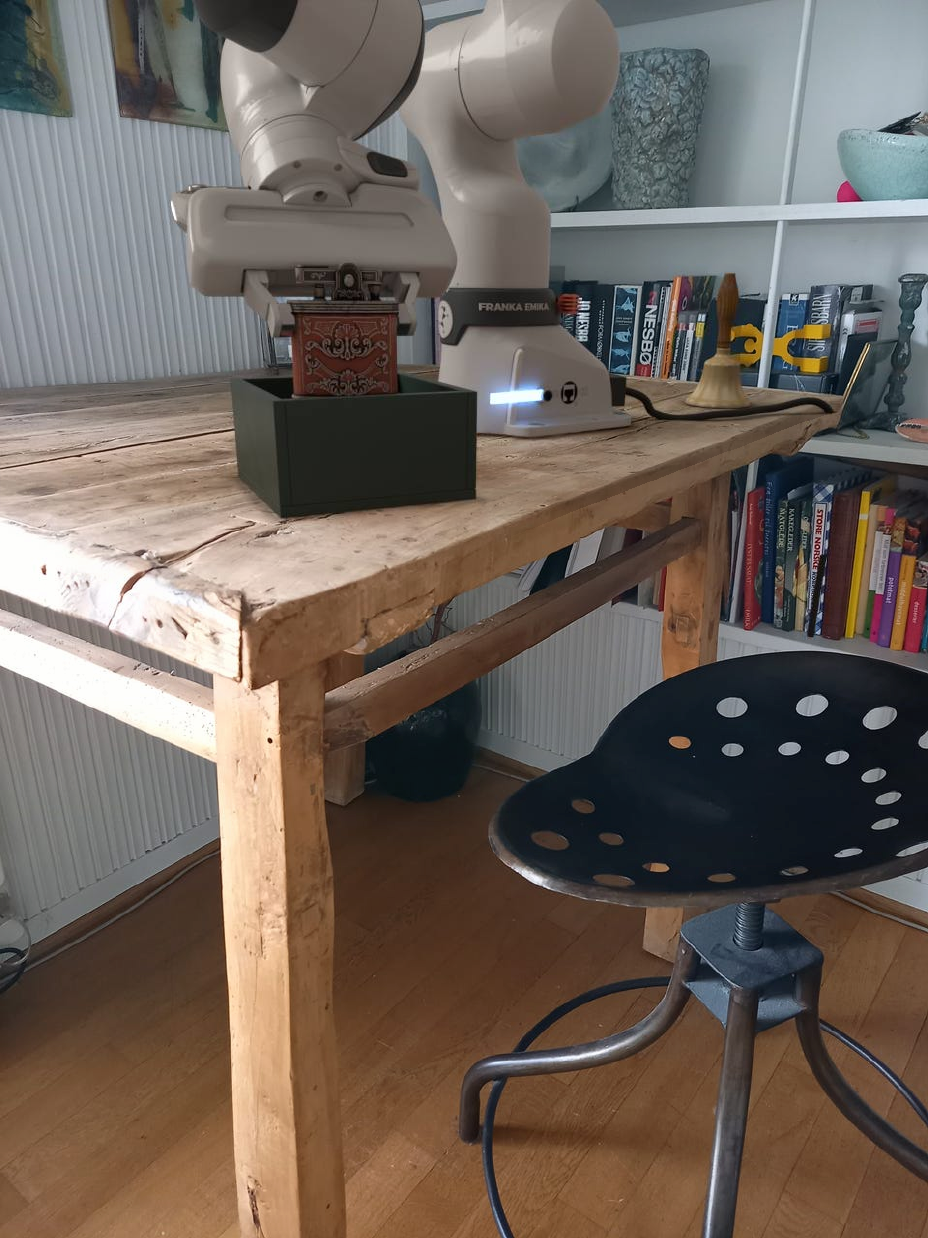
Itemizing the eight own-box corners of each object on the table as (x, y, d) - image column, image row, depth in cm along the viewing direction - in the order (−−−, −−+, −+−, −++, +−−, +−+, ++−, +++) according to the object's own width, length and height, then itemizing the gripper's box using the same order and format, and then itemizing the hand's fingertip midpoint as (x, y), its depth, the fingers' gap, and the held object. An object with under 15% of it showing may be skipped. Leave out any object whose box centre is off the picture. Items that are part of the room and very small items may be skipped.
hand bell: (740, 410, 112) (756, 273, 106) (676, 405, 116) (688, 272, 110) (758, 403, 119) (773, 273, 113) (696, 398, 123) (708, 272, 117)
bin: (405, 463, 79) (404, 371, 76) (476, 499, 67) (477, 391, 64) (238, 476, 73) (229, 378, 71) (280, 518, 61) (272, 401, 58)
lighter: (396, 402, 70) (394, 263, 66) (403, 408, 67) (401, 263, 63) (291, 404, 68) (283, 262, 65) (293, 410, 65) (285, 261, 62)
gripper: (167, 147, 63) (202, 298, 58) (435, 165, 71) (486, 299, 66) (165, 219, 69) (198, 363, 64) (415, 229, 77) (461, 357, 72)
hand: (347, 331), depth 65 cm, fingers closed on lighter, 8 cm apart
